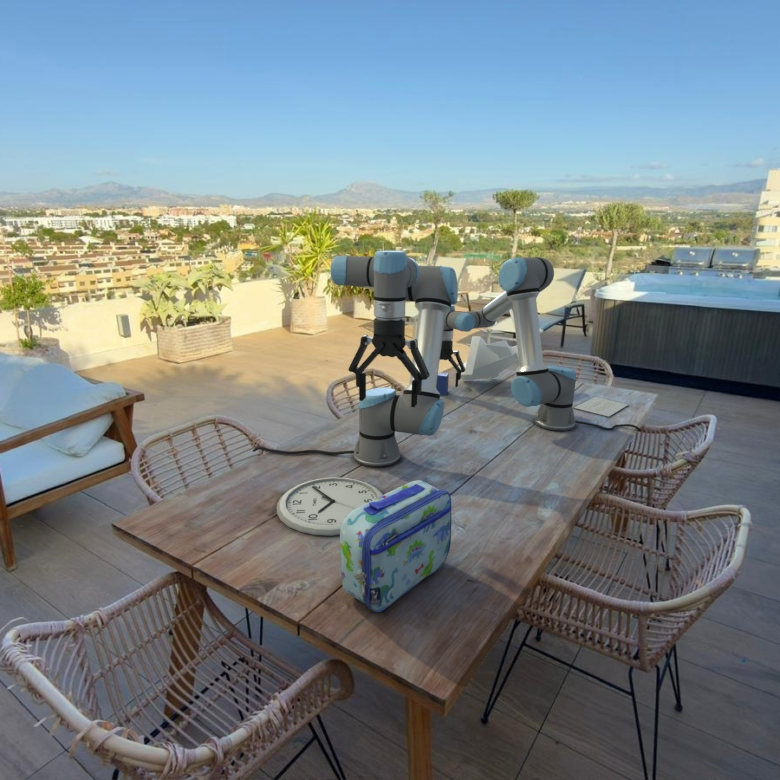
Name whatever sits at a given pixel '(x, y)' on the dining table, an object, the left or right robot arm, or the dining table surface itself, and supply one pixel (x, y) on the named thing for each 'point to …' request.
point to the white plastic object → (488, 358)
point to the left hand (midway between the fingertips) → (387, 402)
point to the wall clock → (323, 504)
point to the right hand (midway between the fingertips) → (442, 384)
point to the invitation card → (601, 406)
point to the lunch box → (394, 543)
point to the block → (442, 383)
